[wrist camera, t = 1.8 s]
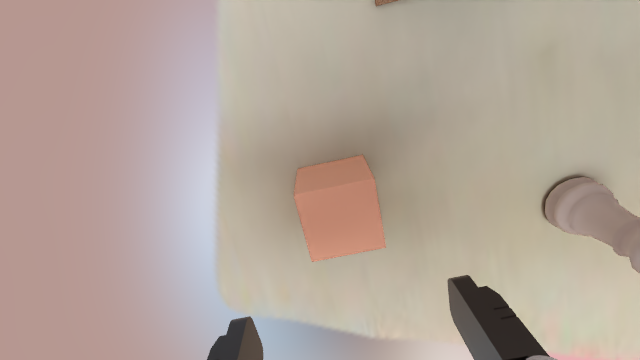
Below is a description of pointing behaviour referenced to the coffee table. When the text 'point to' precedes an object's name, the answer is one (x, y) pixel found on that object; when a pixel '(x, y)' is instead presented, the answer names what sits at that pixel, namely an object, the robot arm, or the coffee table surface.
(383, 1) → the walnut base slab
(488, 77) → the coffee table surface
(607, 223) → the rook chess piece
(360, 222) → the terracotta cube
